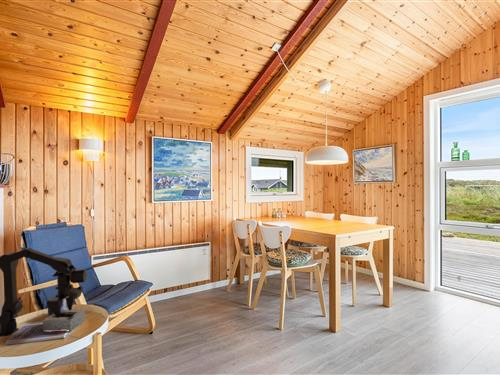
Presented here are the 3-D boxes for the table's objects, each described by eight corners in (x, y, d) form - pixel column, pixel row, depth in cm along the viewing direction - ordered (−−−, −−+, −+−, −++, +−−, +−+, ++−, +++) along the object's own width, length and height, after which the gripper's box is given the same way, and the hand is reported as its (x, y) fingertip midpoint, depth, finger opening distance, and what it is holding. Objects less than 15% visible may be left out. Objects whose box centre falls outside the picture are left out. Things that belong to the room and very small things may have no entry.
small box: (57, 319, 157) (56, 300, 157) (47, 318, 158) (46, 299, 158) (72, 311, 167) (72, 293, 167) (63, 310, 168) (62, 292, 169)
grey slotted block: (42, 332, 143) (42, 320, 143) (59, 321, 155) (59, 310, 155) (70, 331, 142) (70, 319, 142) (84, 320, 154) (84, 309, 154)
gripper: (67, 289, 139) (68, 321, 139) (89, 278, 158) (90, 306, 158) (45, 290, 139) (45, 322, 139) (69, 278, 158) (70, 306, 158)
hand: (64, 313), depth 149 cm, fingers open, 9 cm apart
